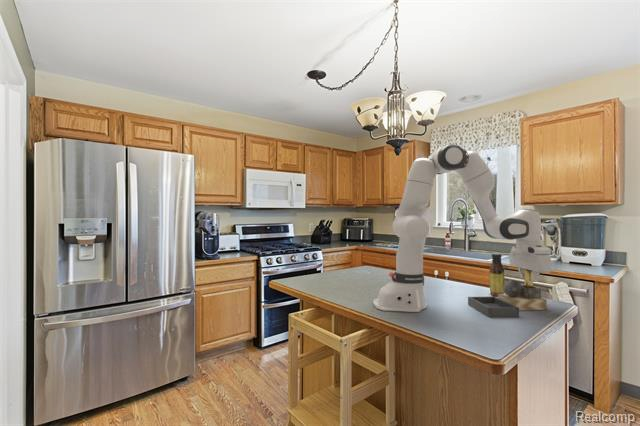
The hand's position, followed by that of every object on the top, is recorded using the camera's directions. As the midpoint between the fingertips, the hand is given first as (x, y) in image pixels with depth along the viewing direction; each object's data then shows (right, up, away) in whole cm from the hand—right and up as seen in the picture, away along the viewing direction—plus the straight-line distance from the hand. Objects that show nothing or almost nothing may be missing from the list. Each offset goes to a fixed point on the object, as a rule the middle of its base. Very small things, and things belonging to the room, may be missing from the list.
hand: (528, 279), depth 132 cm
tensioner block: (-3, -11, 0) cm, 11 cm away
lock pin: (0, -7, 0) cm, 7 cm away
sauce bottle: (-4, -11, +17) cm, 21 cm away
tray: (-19, -11, -6) cm, 23 cm away
